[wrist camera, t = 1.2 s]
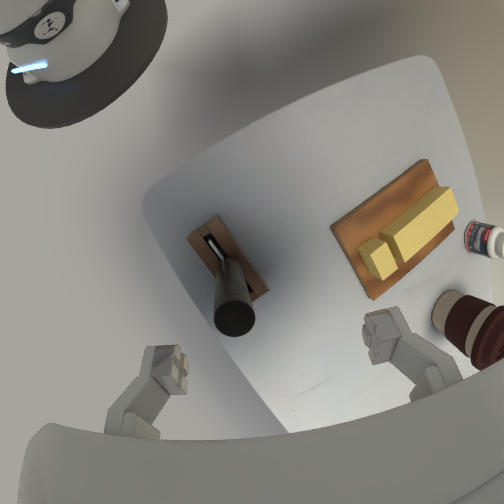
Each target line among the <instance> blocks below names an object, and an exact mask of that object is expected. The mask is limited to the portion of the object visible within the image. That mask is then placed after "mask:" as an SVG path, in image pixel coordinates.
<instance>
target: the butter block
mask: <svg viewBox="0 0 504 504" xmlns="http://www.w3.org/2000/svg"><path fill="white" fill-rule="evenodd" d="M458 213H459V209H458V206H457V203H456V200H455V198H454V195H453V192H452V189H451V187H438V186H435V187H434V188H432V189H431V190H430V191H429V192H428V193H427V194H425V195H424V196H423V197H422V198H421V199H419V200H418V201H417V202H416V203H415V204H413V205H412V206H411V207H410V208H408V209H407V210H406V211H405V212H404V213H402V214H401V215H400V216H399V217H397V218H396V219H395V220H394V221H392V222H391V223H390V224H389V225H387V226H386V227H385V228H383V229H382V230H381V231H380V232H379V233H380V235H381V237H382V239H383V241H385V242H386V243H387V245H388V247H389V249H390V251H391V253H392V256H393V258H396V259H398V260H400V261H403V262H406V261H407V260H409V259H410V258H411V257H412V256H413V255H414V254H415V253H417V252H418V251H419V250H420V249H421V248H422V247H423V246H424V245H426V244H427V243H428V242H429V241H430V240H431V239H432V238H433V237H434V236H435V235H436V234H438V233H439V232H440V231H441V230H442V229H443V228H444V227H445V226H446V225H447V224H448V223H449V222H450V221H451V220H452V219H453V218H454V217H455V216H456V215H457V214H458Z"/></svg>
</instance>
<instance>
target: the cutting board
mask: <svg viewBox="0 0 504 504" xmlns="http://www.w3.org/2000/svg"><path fill="white" fill-rule="evenodd" d="M435 186H438V187H439V185H438V182H437V180H436V177H435V175H434V173H433V170H432V168H431V166H430V164H429V162H428V159H422V160H420V161H419V162H417V163H416V164H415V165H413V166H412V167H411V168H409V169H408V170H407V171H405V172H404V173H403V174H401V175H400V176H399V177H397V178H396V179H395V180H393V181H392V182H391V183H389V184H388V185H386V186H385V187H384V188H382V189H381V190H380V191H378V192H377V193H376V194H374V195H373V196H371V197H370V198H369V199H367V200H366V201H365V202H363V203H362V204H361V205H359V206H358V207H356V208H355V209H354V210H352V211H351V212H349V213H348V214H347V215H345V216H344V217H343V218H341V219H340V220H338V221H337V222H336V223H334V224H333V225H331V226H330V228H331V229H332V231H333V233H334V235H335V236H336V238H337V240H338V242H339V243H340V245H341V247H342V249H343V250H344V252H345V254H346V256H347V258H348V259H349V261H350V263H351V265H352V267H353V269H354V270H355V272H356V274H357V276H358V278H359V280H360V282H361V284H362V285H363V287H364V289H365V291H366V293H367V295H368V297H369V298H370V299H372V300H373V301H374V300H375V299H377V298H378V297H379V296H380V295H382V294H383V293H384V292H385V291H387V290H388V289H389V288H390V287H392V286H393V285H394V284H395V283H396V282H398V281H399V280H400V279H401V278H402V277H403V276H405V275H406V274H407V273H408V272H409V271H410V270H412V269H413V268H414V267H415V266H416V265H417V264H418V263H419V262H421V261H422V260H423V259H424V258H425V257H426V256H427V255H428V254H429V253H430V252H432V251H433V250H434V249H435V248H436V247H437V246H438V245H439V244H440V243H441V242H442V241H443V240H444V239H445V238H446V237H447V236H448V235H449V234H450V233H451V232H452V231H453V230H454V229H455V228H454V225H453V222H452V220H451V221H450V222H449V223H448V224H447V225H446V226H445V227H444V228H443V229H442V230H441V231H440V232H439V233H438V234H436V235H435V236H434V237H433V238H432V239H431V240H430V241H429V242H428V243H427V244H426V245H424V246H423V247H422V248H421V249H420V250H419V251H418V252H417V253H415V254H414V255H413V256H412V257H411V258H410V259H409V260H407V261H406V262H403V261H400V260H398V259H396V258H394V260H395V262H396V265H397V267H398V269H397V270H396V271H394V272H393V273H392V274H391V275H390V276H388V277H387V278H386V279H385V280H381V279H379V278H377V277H376V276H374V275H372V274H370V273H369V271H368V269H367V267H366V265H365V263H364V261H363V259H362V257H361V255H360V253H359V251H358V249H357V248H359V247H360V246H361V245H363V244H364V243H365V242H367V241H368V240H369V239H371V238H372V237H373V238H376V239H379V240H382V241H383V239H382V237H381V235H380V233H379V232H380V231H381V230H382V229H383V228H385V227H386V226H387V225H389V224H390V223H391V222H392V221H394V220H395V219H396V218H397V217H399V216H400V215H401V214H402V213H404V212H405V211H406V210H407V209H408V208H410V207H411V206H412V205H413V204H415V203H416V202H417V201H418V200H419V199H421V198H422V197H423V196H424V195H425V194H427V193H428V192H429V191H430V190H431V189H432V188H434V187H435Z"/></svg>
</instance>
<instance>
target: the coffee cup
mask: <svg viewBox="0 0 504 504" xmlns="http://www.w3.org/2000/svg"><path fill="white" fill-rule="evenodd" d="M432 321H433V324H434V326H435V328H436V329H438V330H439V331H440V332H441V333H442V334H443V335H445V337H446V338H447V340H448V341H450V342H451V343H452V344H453V345H454V346H455V347H456V348H458V349H459V350H460V351H461V352H462V353H463V354H464V355H465V356H467V357H469V358H471V363H472V365H473V366H474V367H475V368H477V369H478V370H480V371H482V370H483V369H485V368H487V367H489V366H491V365H492V364H494V363H496V362H498V361H499V360H501V359H503V358H504V306H499V307H496V306H495V305H494V304H492V303H489V302H487V301H484V300H481V299H479V298H476V297H474V296H471V295H465V294H462V293H459V292H457V291H448V292H446V293H445V294H443V295H442V296H441V297H440V298H439V300H438V301H437V303H436V305H435V307H434V310H433V315H432Z"/></svg>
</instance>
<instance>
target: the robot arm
mask: <svg viewBox="0 0 504 504" xmlns="http://www.w3.org/2000/svg"><path fill="white" fill-rule="evenodd" d="M117 1H118V2H117ZM129 5H130V1H129V0H0V44H2V45H5V46H7V54H8V55H7V59H8V60H9V61H10V62H12V63H13V64H15V65H16V66H17V67H19V68H17V69H13V70H12V71H11V72H13V73H18V72H23V78H24V82H25V83H26V84H28V85H32V84H35V83H38V82H40V81H48V82H59V81H64V80H67V79H69V78H72V77H74V76H76V75H78V74H79V73H81V72H83V71H84V70H86V69H87V68H88V67H90V66H91V65H92V64H93V63H94V62H95V61H97V60H98V59H99V58H100V57H101V56H102V55H103V53H104V52H105V51H106V50H107V49H108V47H109V46H110V44H111V43H112V41H113V39H114V38H115V36H116V33H117V31H118V28H119V23H120V19H121V17H122V15H123V14H124V13H125V11H126V10H127V9H128V7H129ZM364 321H365V324H364V325H363V327H362V336H363V340H364V343H365V345H366V346H367V347H369V352H368V354H369V357H370V360H371V363H372V365H376V364H380V363H384V362H387V361H390V363H392V364H393V365H394V366H395V367H396V368H397V369H399V370H400V371H401V372H402V373H403V374H404V375H405V376H407V377H408V378H409V379H410V380H411V381H412V382H414V383H415V384H416V385H415V387H414V388H413V390H412V391H411V393H410V395H409V397H410V400H411V402H410V403H407V404H405V405H402V406H399V407H396V408H393V409H390V410H387V411H384V412H381V413H377V414H374V415H371V416H367V417H364V418H360V419H356V420H352V421H348V422H344V423H340V424H336V425H332V426H327V427H322V428H317V429H312V430H307V431H301V432H295V433H288V434H281V435H274V436H266V437H256V438H245V439H230V440H201V441H199V440H198V441H196V440H194V441H193V440H191V441H190V440H189V441H188V440H160V432H159V430H157V429H156V428H154V427H153V426H152V423H153V422H154V420H155V419H156V417H157V416H158V414H159V412H160V411H161V409H162V408H163V406H164V405H165V403H166V402H167V400H168V399H169V397H170V395H182V394H187V385H188V381H187V380H186V379H185V377H186V376H187V374H188V372H189V365H188V360H187V357H186V356H185V354H183V353H181V348H180V346H179V345H164V346H147V347H146V349H145V351H144V356H143V360H142V365H141V370H140V375H139V377H136V378H135V379H134V380H133V382H132V383H131V384H130V385H129V386H128V387H127V389H126V390H125V391H124V392H123V393H122V394H121V395H120V397H119V398H118V399H117V400H116V401H115V402H114V404H113V405H112V406H111V407H110V408H109V409H108V413H107V418H106V423H105V429H104V434H103V433H97V432H91V431H86V430H80V429H75V428H71V427H66V426H62V425H58V424H54V423H48V424H46V425H45V426H43V427H42V428H41V429H40V430H39V431H38V432H37V433H36V434H35V435H34V436H33V437H32V438H31V440H30V441H29V444H28V446H27V449H26V452H25V456H24V461H23V465H22V470H21V476H20V482H19V490H18V501H17V504H504V358H503V359H501V360H499V361H498V362H496V363H494V364H492V365H491V366H489V367H487V368H485V369H483V370H482V371H480V372H478V373H476V374H474V375H472V376H470V377H468V378H466V379H464V380H463V378H462V376H461V374H460V371H459V369H458V367H457V365H456V363H455V361H454V359H453V357H452V356H450V355H449V354H447V353H445V352H444V351H442V350H441V349H439V348H438V347H436V346H435V345H433V344H432V343H430V342H428V341H427V340H425V339H424V338H422V337H421V336H419V335H418V334H416V333H413V334H412V332H411V330H410V328H409V326H408V324H407V322H406V320H405V318H404V316H403V315H402V313H401V311H400V309H399V307H397V306H394V307H391V308H387V309H382V310H378V311H374V312H371V313H367V314H365V316H364Z"/></svg>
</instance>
